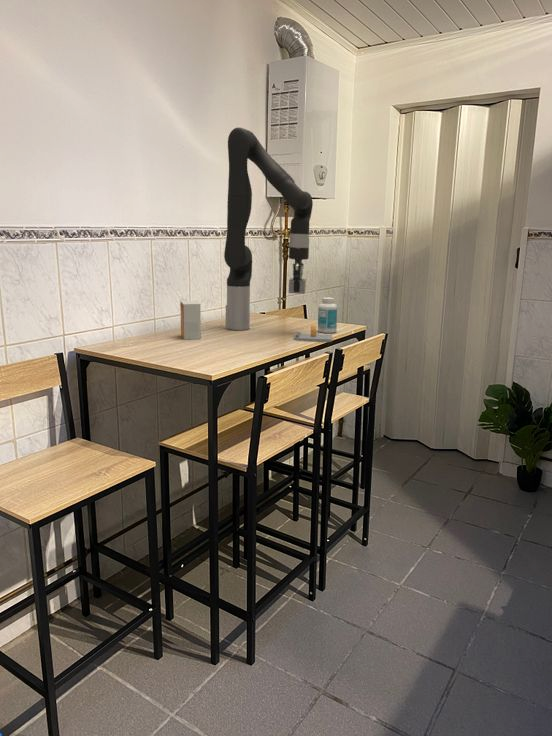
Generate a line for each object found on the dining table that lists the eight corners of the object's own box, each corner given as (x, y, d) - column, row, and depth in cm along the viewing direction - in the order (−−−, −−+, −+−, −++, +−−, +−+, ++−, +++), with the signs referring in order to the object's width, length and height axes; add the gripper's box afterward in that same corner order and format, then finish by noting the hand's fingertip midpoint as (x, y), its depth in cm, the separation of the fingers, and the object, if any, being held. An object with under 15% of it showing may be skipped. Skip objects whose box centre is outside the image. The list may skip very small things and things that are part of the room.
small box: (180, 335, 217) (180, 300, 213) (197, 335, 218) (197, 300, 215) (183, 339, 209) (183, 303, 206) (201, 339, 211) (200, 303, 208)
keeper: (293, 340, 211) (293, 327, 210) (295, 336, 220) (295, 323, 219) (331, 342, 210) (332, 328, 209) (332, 337, 219) (332, 324, 218)
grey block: (288, 293, 219) (289, 279, 218) (289, 291, 225) (290, 278, 224) (304, 293, 218) (305, 280, 217) (305, 292, 224) (305, 279, 223)
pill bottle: (336, 330, 233) (337, 297, 230) (336, 333, 226) (337, 299, 223) (317, 329, 234) (319, 296, 231) (317, 333, 227) (318, 298, 224)
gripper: (290, 245, 225) (288, 288, 229) (287, 246, 211) (285, 292, 215) (310, 246, 224) (307, 289, 228) (308, 247, 210) (305, 293, 214)
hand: (297, 290), depth 221 cm, fingers closed on grey block, 6 cm apart
